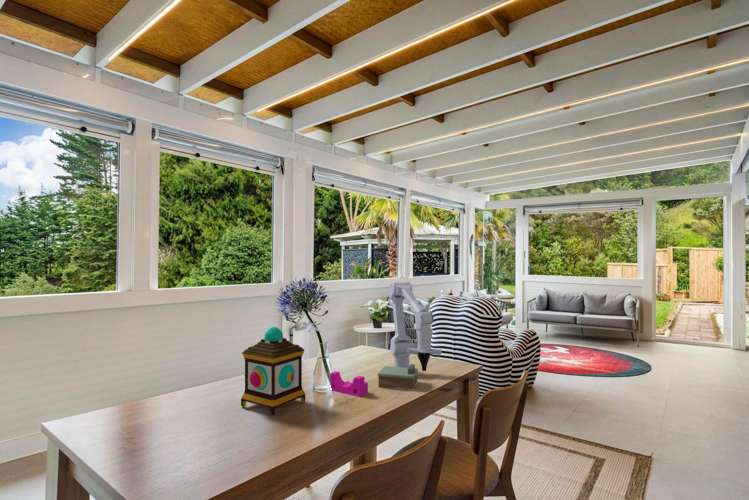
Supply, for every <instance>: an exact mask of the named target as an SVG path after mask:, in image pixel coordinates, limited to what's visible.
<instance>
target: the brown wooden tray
mask: <svg viewBox="0 0 749 500" xmlns="http://www.w3.org/2000/svg"><path fill="white" fill-rule="evenodd" d="M416 383H418V372H417V373H416V375H415V377H414V379H413V378H400V377H386V376H378V388H380V389H381V388H383V389H391V390H392V389H395V390H404V389H408V391H413V390H414V389H415V388H416V386H415V385H417V384H416Z"/></svg>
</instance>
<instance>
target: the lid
mask: <svg viewBox="0 0 749 500" xmlns="http://www.w3.org/2000/svg"><path fill="white" fill-rule="evenodd" d="M418 372H419V368H418V367H417V368H416V365H415V363H410V366H409V367H408V368H404V367H394V366H390V365H389V366H388V365H387V366H386V365H385V366H383V367H382V368H381V369H380V370H379V372H377V376H378V377H379V376H386V377H400V378H413V379H414V377H415V375H416V373H417V374H418Z"/></svg>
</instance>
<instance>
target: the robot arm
mask: <svg viewBox="0 0 749 500" xmlns="http://www.w3.org/2000/svg"><path fill="white" fill-rule="evenodd" d="M388 293H389V300H391V302H392V311H393V323H394V324H393V325H394V331H395V333H394V336H393V337H392V338H391V339H390V347H389V350H390V353H391V355H392V356H393V367H404V368H408V367H409V366H410V365H411V363H410V356H411V354H417V358H418V360H419V362H420V366H421V371H422V372H426V371H427V367H428V363H429V359H430V358H431V355H438V356H442V349H436V348H432V325H433V323H434V321H435V320H434V314H433V313H432V311H431V310H428V309H426V307H425V306H424V304H423V303H422V302H421V300H419V299H418V300H417V298H416V296H415V295H414V293H413V285H412V283H411V282H410V281H401V282H399V281H398V282H390V284H389V287H388ZM405 300H406V301H407V303H408V304H409V309H410V311H411V313H412V314H413V316H414V320H415V326H416V329H417V347H414V345H413V343H412V339H411V337H410V336H409V335H407V333H406V332H407V331H406V323H405V322H406V321H405V312H404V311H405V310H404V301H405Z"/></svg>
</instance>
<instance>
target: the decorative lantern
mask: <svg viewBox="0 0 749 500" xmlns="http://www.w3.org/2000/svg"><path fill="white" fill-rule="evenodd" d="M304 352H305V348H303V347H302V346H300V345H299V344H294V343H293V342H291V341H290V340H287V338H285V337H284V333H283V331H282V330H281V329H280V328H279V327H278V326H271V327H269V328H268V329H267V330H266V332H265V333H264V338H262V339H260V341H258V342H257V343H256V344H254V345H252V346H249V347H248V348H246V349H244V350H243V352H241V354H242V357H243V359H244V392H243V394H242V396H241V399H240V406H241V407H242V408H246V406H247V403H250V404H254V405H257V406H260V407H263V408H264V407H265V408H268V409H269V411H270V416H272V417H274V416H275V414H276V409H277V408H279V407H281V406H283V405H286V404H288V403H290V402H293V401H296V400H299V399H300V403H301V404H305V402H306V393H305V391H304V388H303V383H302V380H303V376H302V375H303V372H302V371H303V365H302V364H303V361H302V360H303V355H304Z"/></svg>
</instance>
